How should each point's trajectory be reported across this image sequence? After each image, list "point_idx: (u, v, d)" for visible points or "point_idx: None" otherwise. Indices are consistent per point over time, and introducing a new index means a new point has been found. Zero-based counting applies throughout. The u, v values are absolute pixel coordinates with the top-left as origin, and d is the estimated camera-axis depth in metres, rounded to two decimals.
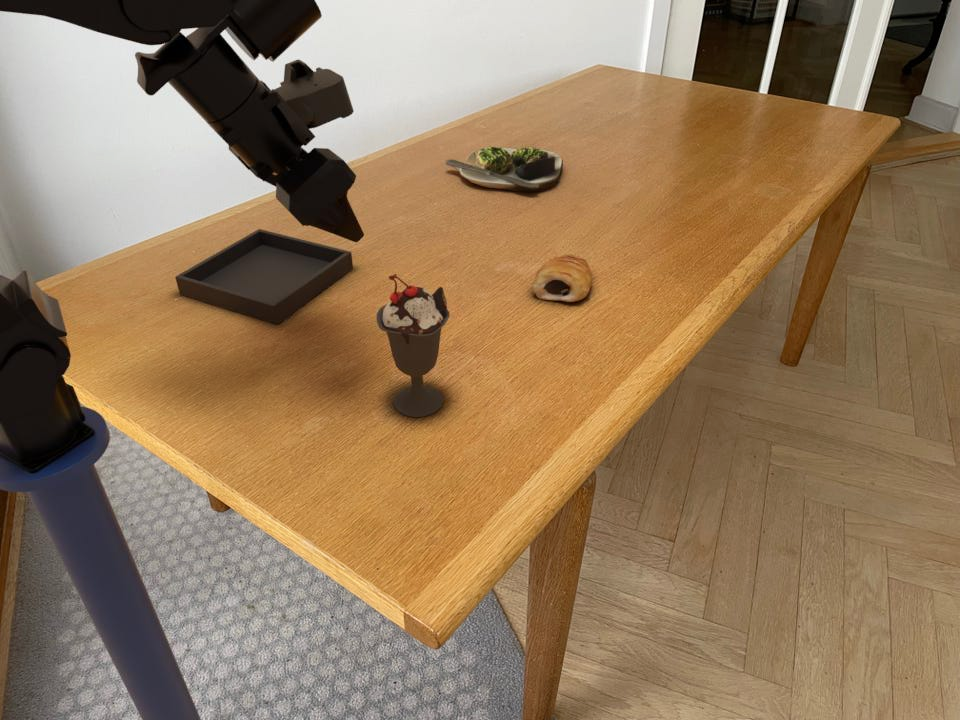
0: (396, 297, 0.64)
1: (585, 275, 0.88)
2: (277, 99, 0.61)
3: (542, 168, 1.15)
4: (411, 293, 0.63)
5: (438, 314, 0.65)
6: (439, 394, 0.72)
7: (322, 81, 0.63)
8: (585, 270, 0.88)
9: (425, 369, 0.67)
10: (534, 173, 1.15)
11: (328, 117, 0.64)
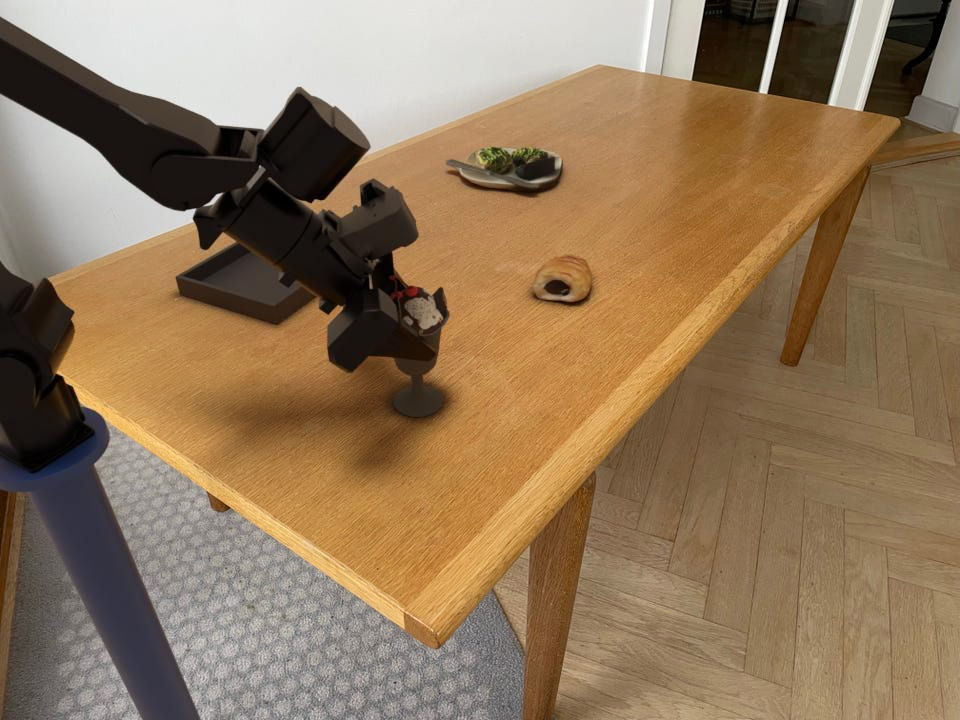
0: None
1: (585, 275, 0.88)
2: (328, 239, 0.58)
3: (542, 168, 1.15)
4: (411, 293, 0.63)
5: (438, 314, 0.65)
6: (439, 393, 0.72)
7: (382, 210, 0.59)
8: (585, 270, 0.88)
9: (425, 369, 0.67)
10: (534, 173, 1.15)
11: (387, 248, 0.59)
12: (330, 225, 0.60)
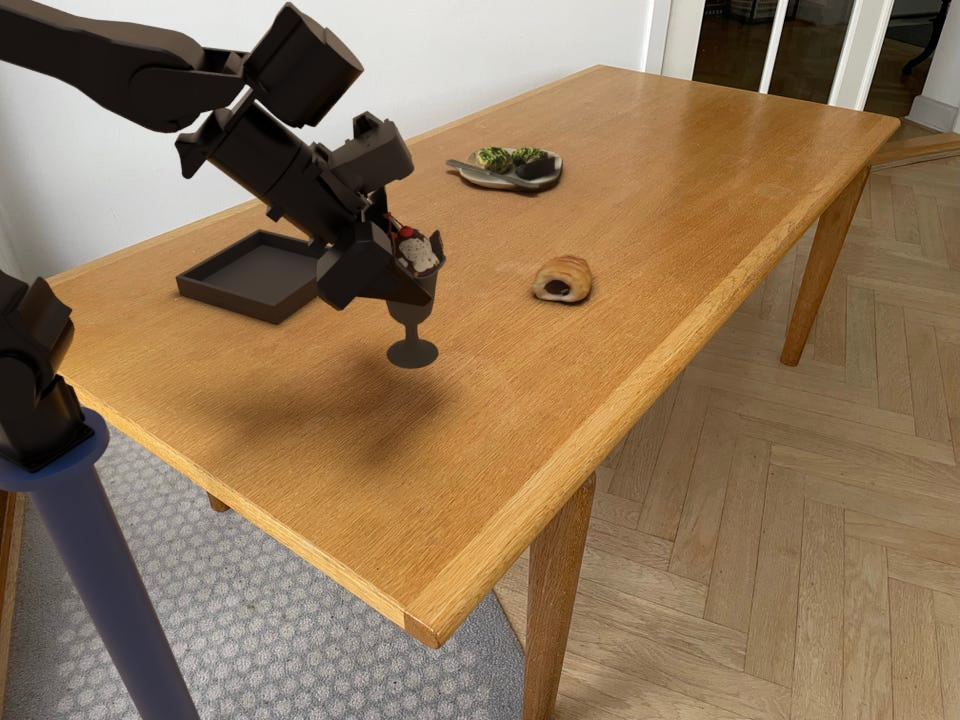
0: None
1: (585, 275, 0.88)
2: (319, 169, 0.55)
3: (542, 168, 1.15)
4: (406, 233, 0.60)
5: (434, 257, 0.62)
6: (435, 346, 0.69)
7: (376, 140, 0.56)
8: (585, 270, 0.88)
9: (420, 317, 0.64)
10: (534, 173, 1.15)
11: (381, 181, 0.56)
12: (321, 157, 0.57)
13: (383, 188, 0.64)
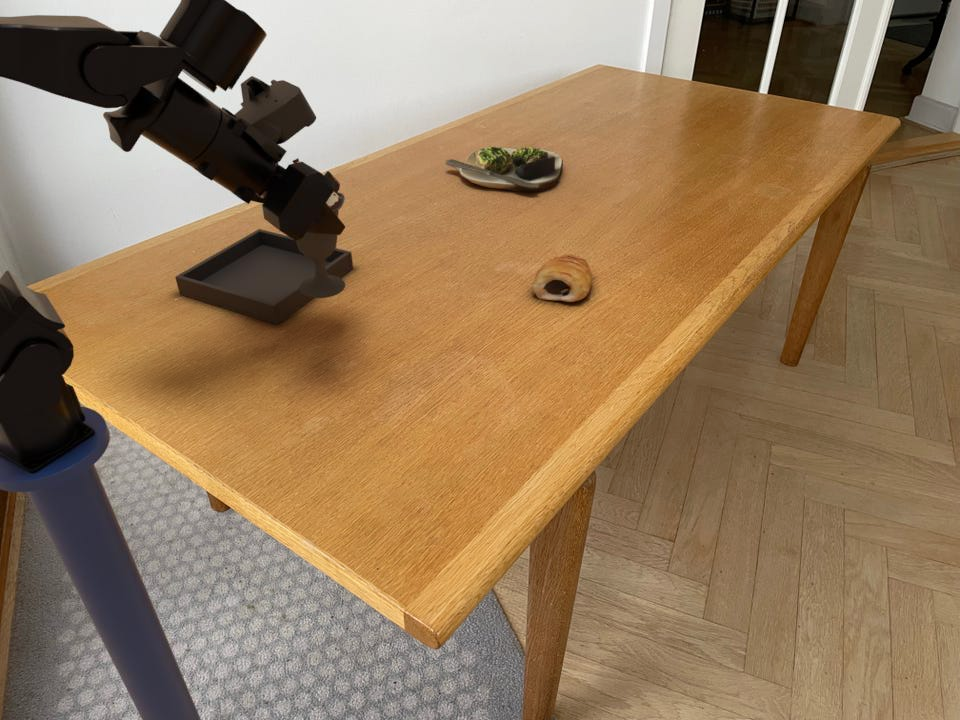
0: None
1: (585, 275, 0.88)
2: (244, 125, 0.63)
3: (542, 168, 1.15)
4: None
5: (335, 193, 0.73)
6: (337, 277, 0.80)
7: (281, 96, 0.66)
8: (585, 270, 0.88)
9: (332, 248, 0.75)
10: (534, 173, 1.15)
11: (294, 129, 0.66)
12: None
13: None
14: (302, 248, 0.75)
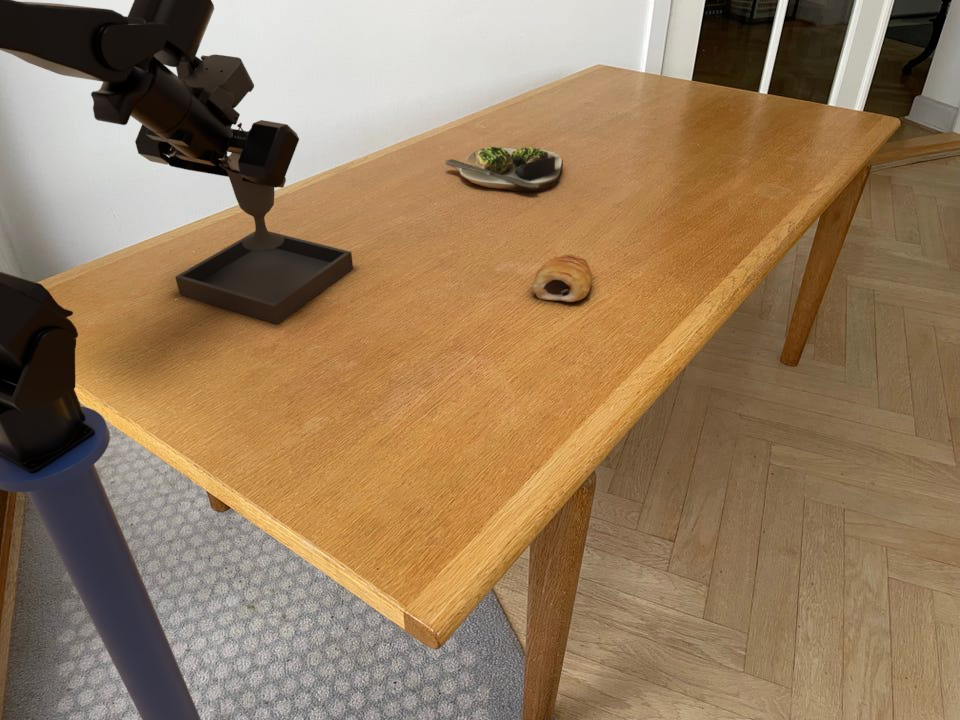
0: None
1: (585, 275, 0.88)
2: (207, 93, 0.71)
3: (542, 168, 1.15)
4: None
5: None
6: None
7: (223, 66, 0.74)
8: (585, 270, 0.88)
9: (273, 202, 0.85)
10: (534, 173, 1.15)
11: (241, 95, 0.75)
12: None
13: None
14: (248, 206, 0.83)
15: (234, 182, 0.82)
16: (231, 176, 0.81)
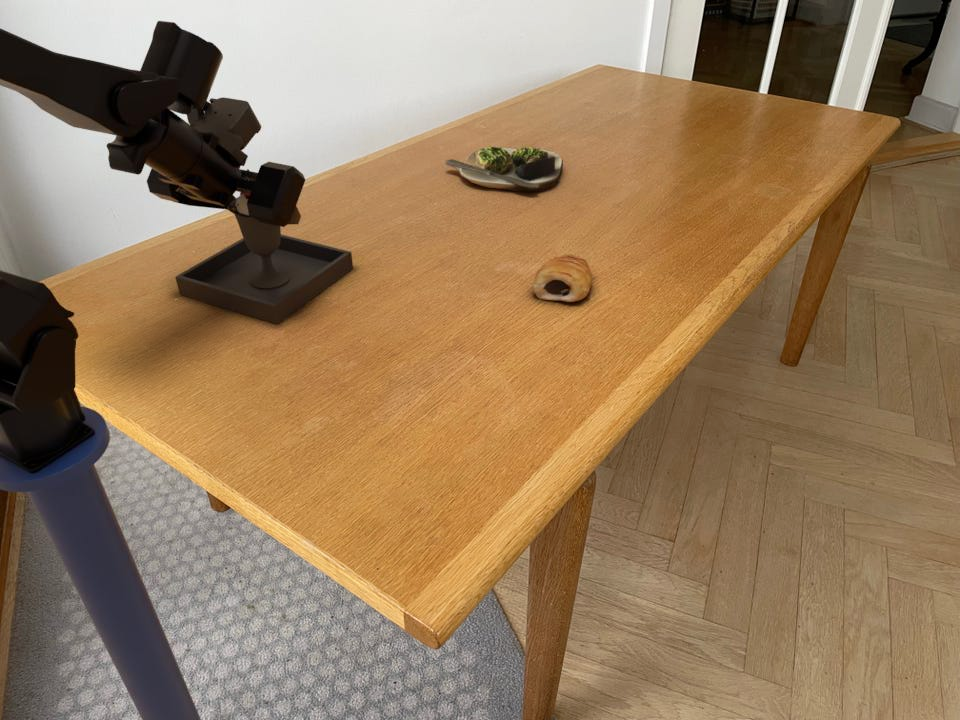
0: None
1: (585, 275, 0.88)
2: (217, 138, 0.74)
3: (542, 168, 1.15)
4: None
5: None
6: (277, 269, 0.93)
7: (232, 110, 0.77)
8: (585, 270, 0.88)
9: (279, 242, 0.88)
10: (534, 173, 1.15)
11: (249, 137, 0.78)
12: None
13: None
14: (256, 247, 0.86)
15: (242, 225, 0.85)
16: (239, 219, 0.84)
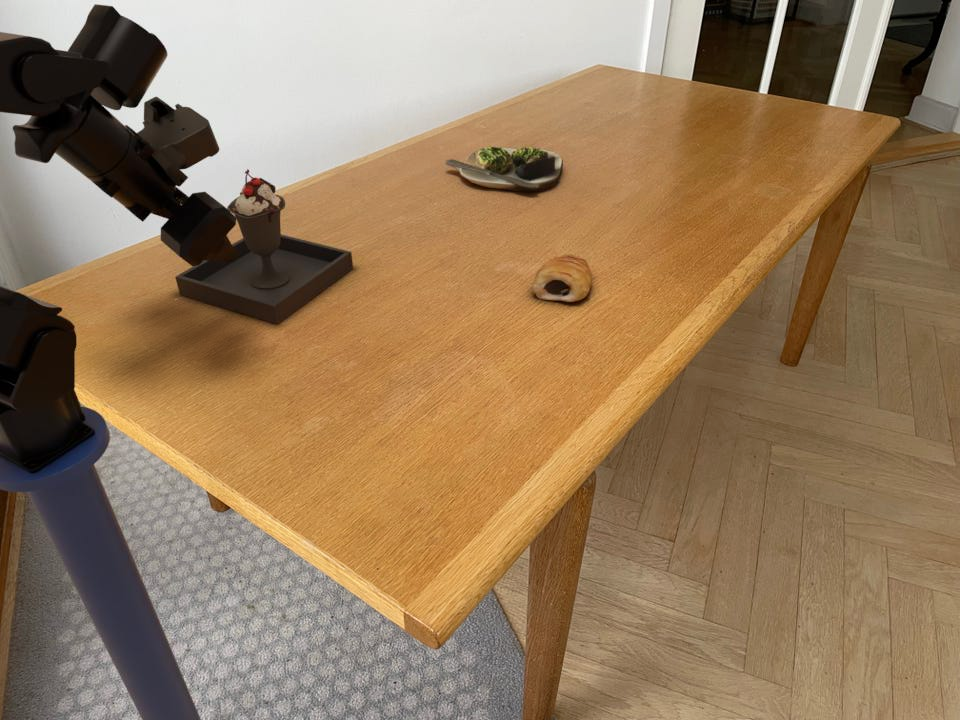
0: (251, 189, 0.82)
1: (585, 275, 0.88)
2: (151, 150, 0.65)
3: (542, 168, 1.15)
4: (258, 182, 0.83)
5: None
6: (277, 269, 0.93)
7: (188, 124, 0.69)
8: (585, 270, 0.88)
9: (279, 242, 0.88)
10: (534, 173, 1.15)
11: (198, 158, 0.69)
12: None
13: None
14: (256, 247, 0.86)
15: (242, 225, 0.85)
16: (239, 219, 0.84)
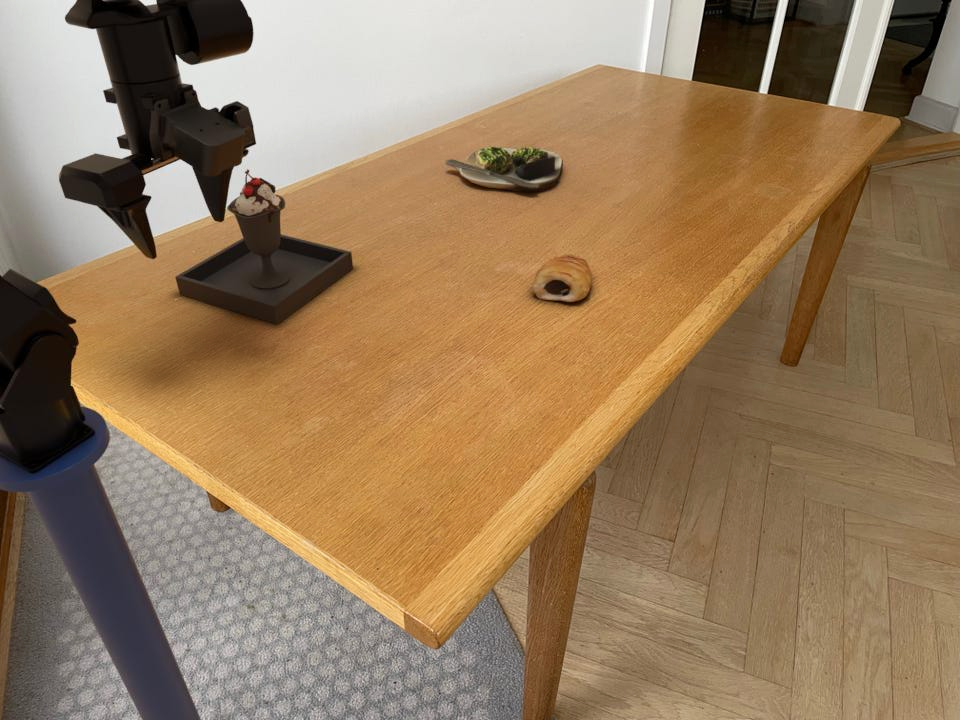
0: (251, 189, 0.82)
1: (585, 275, 0.88)
2: (152, 107, 0.61)
3: (542, 168, 1.15)
4: (258, 182, 0.83)
5: None
6: (277, 269, 0.93)
7: (209, 133, 0.62)
8: (585, 270, 0.88)
9: (279, 242, 0.88)
10: (534, 173, 1.15)
11: (185, 158, 0.63)
12: (176, 100, 0.63)
13: None
14: (256, 247, 0.86)
15: (242, 225, 0.85)
16: (239, 219, 0.84)
